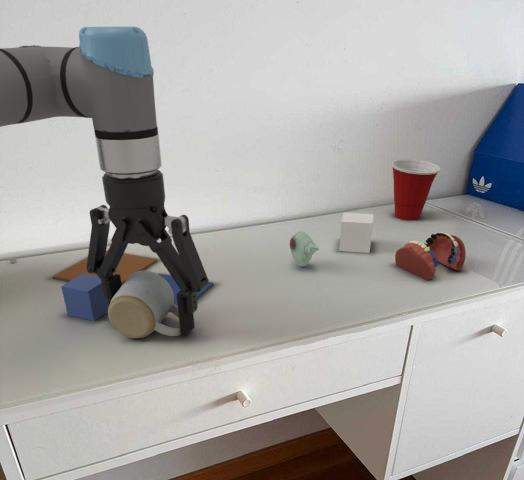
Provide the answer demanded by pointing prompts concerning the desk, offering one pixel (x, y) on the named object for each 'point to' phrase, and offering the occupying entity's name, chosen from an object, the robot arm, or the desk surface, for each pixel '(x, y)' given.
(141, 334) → the ceramic mug
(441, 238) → the teeth model
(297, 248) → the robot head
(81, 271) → the cork mat
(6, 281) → the desk surface
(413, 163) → the plastic cup
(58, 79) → the robot arm
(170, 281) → the blue mat
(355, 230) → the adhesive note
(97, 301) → the blue block
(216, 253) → the desk surface
